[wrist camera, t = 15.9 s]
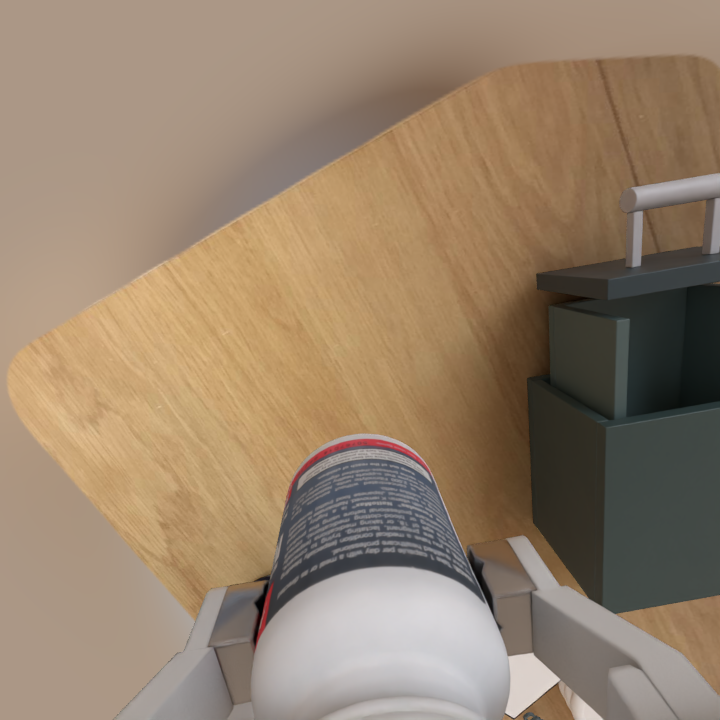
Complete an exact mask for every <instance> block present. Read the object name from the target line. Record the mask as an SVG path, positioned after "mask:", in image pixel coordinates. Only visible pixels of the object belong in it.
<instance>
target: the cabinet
mask: <svg viewBox="0 0 720 720" xmlns="http://www.w3.org/2000/svg"><path fill="white" fill-rule="evenodd" d="M527 383H528V408H529V432H530V457H531V481H532V505H533V523H534V524H535V526H536V527H537V528H538V530H539V531H540V532H541V534H542V535H543V536H544V538H545V539H546V541H547V542H548V543H549V545H550V546H551V547H552V549H553V550H554V551H555V553H556V554H557V555H558V557H559V558H560V560H561V561H562V562H563V564H564V565H565V566H566V568H567V569H568V570H569V572H570V573H571V574H572V576H573V577H574V578H575V580H576V581H577V583H578V584H579V585H580V587H581V588H582V589H583V591H584V592H585V593H586V595H587V596H588V597H589V599H590V600H592V601H594V602H595V603H597V604H599V605H600V606H602V607H604V608H606V609H607V610H609V611H611V612H612V613H614V614H617V613H623V612H628V611H634V610H639V609H645V608H650V607H656V606H661V605H667V604H672V603H678V602H684V601H689V600H695V599H700V598H706V597H711V596H717V595H720V401H718V402H712V403H707V404H701V405H695V406H689V407H684V408H678V409H672V410H666V411H661V412H655V413H649V414H643V415H638V416H632V417H626V418H620V419H615V420H608V419H606V418H604V417H603V416H601V415H599V414H598V413H596V412H594V411H593V410H591V409H589V408H588V407H586V406H584V405H583V404H581V403H579V402H578V401H576V400H574V399H573V398H571V397H569V396H568V395H566V394H564V393H563V392H561V391H559V390H558V389H556V388H554V387H553V386H551V385H550V374H548V375H542V376H536V377H530V378H527Z"/></svg>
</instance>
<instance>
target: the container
mask: <svg viewBox="0 0 720 720" xmlns="http://www.w3.org/2000/svg"><path fill="white" fill-rule="evenodd" d="M508 660H509V667H510V677H511V678H510V694H509V699H508V703H507V707H506V711H505V714H506V715H507V716H509V717H511V718H512V719H515V718H517V717H518V716H519V715H520V714H521V713H523V712H524V711H525V710H526V709H527V708H529V707H530V706H531V705H532V704H533V703H535V702H536V701H537V700H538V699H539V698H541V697H542V696H543V695H544V694H546V693H547V692H548V691H549V690H550V689H552V688H553V687H554V686H555V685H556V684H558V683H559V682H560V681H561V680H560V679H559V678H558V677H557V676H556V675H555V674H554V673H553V672H552V671H551V670H549V669H548V668H547V667H546V666H545V665H544V664H543V663H542V662H541V661H540V660H539V659H538V658H536V657H535V656H534V653H528V654H521V655H514V656H508ZM529 716H533V718H532V719H531V720H543V719H540V717H537V716H535V715H534V714H533V713H531V712H529V713H526V714H525V715H524V716H523V718H524V720H528V719H527V718H528V717H529Z"/></svg>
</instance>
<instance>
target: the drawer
mask: <svg viewBox="0 0 720 720" xmlns="http://www.w3.org/2000/svg"><path fill="white" fill-rule="evenodd" d="M702 200H707V201H706V212H705V224H704V235H703V246H702V247H692V248H686V249H680V250H674V251H668V252H662V253H656V254H650V255H644V256H641V249H642V225H643V211H642V210H648V209H654V208H660V207H666V206H672V205H678V204H684V203H690V202H696V201H702ZM619 203H620V208H621V210H622V211H623V212H625V213H627V234H626V259H620V260H614V261H609V262H603V263H597V264H591V265H585V266H579V267H573V268H567V269H561V270H555V271H549V272H543V273H537V274H536V276H537V289H538V290H544V291H551V292H557V293H563V294H570V295H576V296H582V297H589V298H590V299H584V300H578V301H572V302H566V303H560V304H554V305H549V345H550V385H551V386H553V387H554V388H556V389H558V390H559V391H561V392H563V393H564V394H566V395H568V396H569V397H571V398H573V399H574V400H576V401H578V402H579V403H581V404H583V405H584V406H586V407H588V408H589V409H591V410H593V411H594V412H596V413H598V414H599V415H601V416H603V417H604V418H606V419H608V420H615V419H620V418H626V417H632V416H638V415H643V414H649V413H655V412H661V411H666V410H672V409H678V408H684V407H689V406H695V405H701V404H707V403H712V402H718V401H720V284H713V283H714V282H720V173H717V174H710V175H704V176H698V177H692V178H686V179H680V180H674V181H668V182H662V183H656V184H650V185H644V186H638V187H632V188H628V189H626V190H625V191H624V192H623V193H622V195H621V197H620V202H619Z"/></svg>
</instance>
